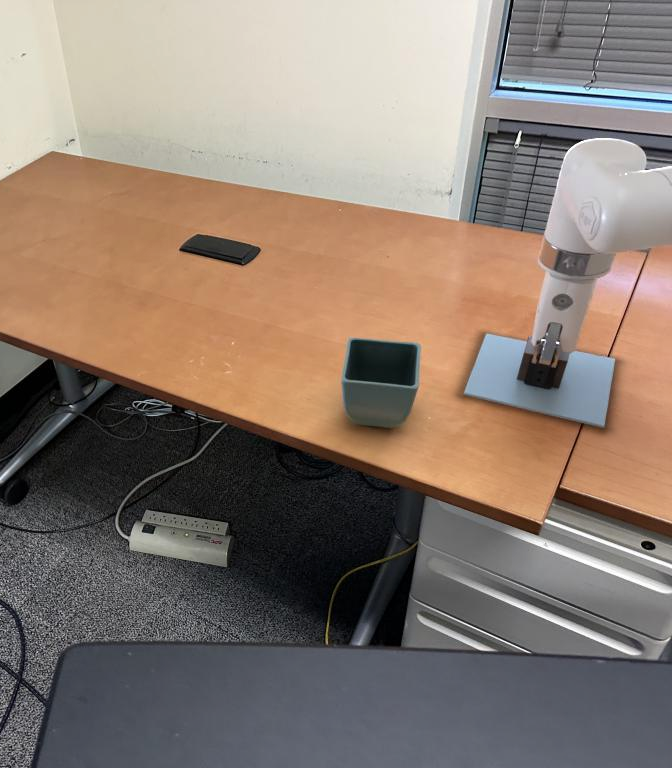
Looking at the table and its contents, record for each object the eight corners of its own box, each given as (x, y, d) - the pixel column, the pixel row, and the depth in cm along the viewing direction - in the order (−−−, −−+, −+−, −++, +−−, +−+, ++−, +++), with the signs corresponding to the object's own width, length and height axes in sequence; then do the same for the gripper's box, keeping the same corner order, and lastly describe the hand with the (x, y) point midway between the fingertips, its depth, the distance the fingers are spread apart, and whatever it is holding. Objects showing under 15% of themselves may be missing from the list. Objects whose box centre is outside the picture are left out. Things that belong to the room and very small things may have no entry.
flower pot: (410, 442, 85) (419, 387, 79) (337, 434, 87) (340, 380, 81) (413, 396, 91) (421, 342, 85) (344, 389, 93) (348, 336, 88)
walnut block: (563, 370, 90) (572, 343, 87) (558, 389, 88) (567, 361, 85) (521, 362, 93) (529, 335, 90) (516, 379, 90) (523, 352, 87)
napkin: (614, 360, 91) (615, 358, 91) (603, 428, 82) (604, 425, 82) (485, 335, 98) (486, 333, 98) (463, 394, 90) (463, 392, 90)
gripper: (607, 296, 72) (563, 422, 83) (621, 223, 82) (580, 344, 94) (528, 283, 75) (496, 406, 87) (551, 215, 85) (520, 333, 97)
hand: (540, 373), depth 90 cm, fingers closed on walnut block, 4 cm apart
